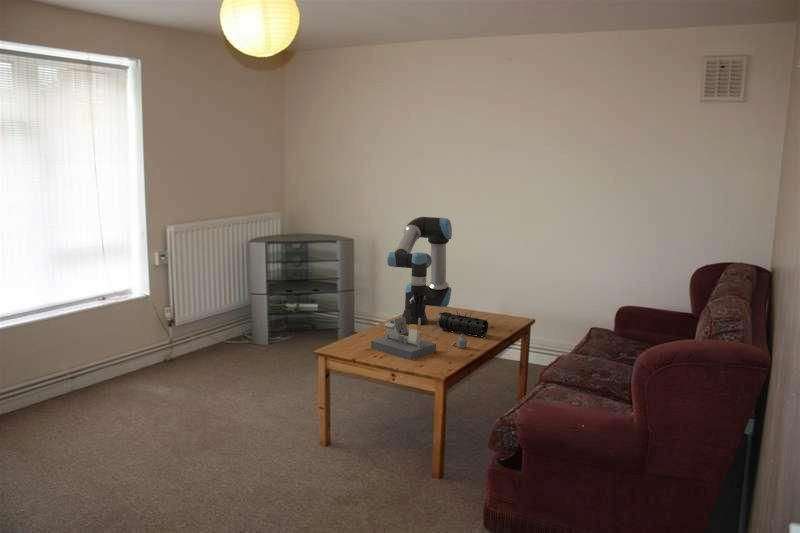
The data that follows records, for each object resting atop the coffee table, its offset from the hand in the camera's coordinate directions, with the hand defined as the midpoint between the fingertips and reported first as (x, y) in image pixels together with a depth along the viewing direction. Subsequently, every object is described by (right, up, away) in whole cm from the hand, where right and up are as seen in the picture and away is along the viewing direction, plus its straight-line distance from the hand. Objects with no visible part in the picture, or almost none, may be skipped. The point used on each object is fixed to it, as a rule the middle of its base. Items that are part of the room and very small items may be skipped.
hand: (417, 330), depth 333 cm
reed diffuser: (+22, -10, +11) cm, 27 cm away
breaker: (-11, -4, +7) cm, 14 cm away
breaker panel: (-7, -10, +4) cm, 13 cm away
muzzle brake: (+26, -6, +39) cm, 47 cm away
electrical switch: (-9, -5, +33) cm, 35 cm away
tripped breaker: (-2, -6, -1) cm, 6 cm away
